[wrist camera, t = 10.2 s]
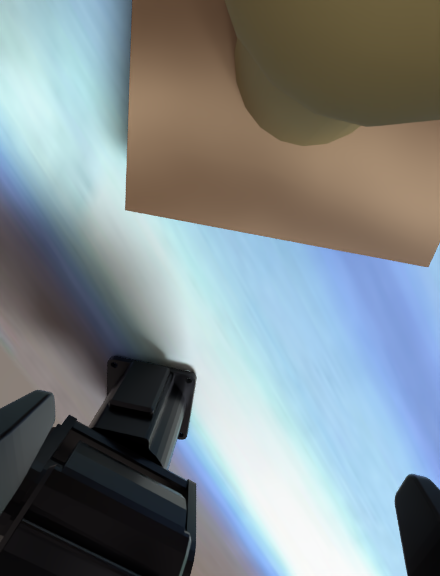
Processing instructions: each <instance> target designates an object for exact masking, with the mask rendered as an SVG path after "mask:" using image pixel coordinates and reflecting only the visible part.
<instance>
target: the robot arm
mask: <svg viewBox="0 0 440 576" xmlns="http://www.w3.org/2000/svg"><path fill="white" fill-rule="evenodd" d="M114 362H115V363H117V364H114ZM187 378H190V379H191V380H188V379H187ZM196 379H197V378H196V375H195V374H194V373H193V372H189V371H185V370H180V369H175V368H170V367H166V366H161V365H156V364H151V363H147V362H142V361H137V360H132V359H128V358H123V357H118V356H113V357H111V358H110V360H109V361H108V365H107V397H106V399H105V401H104V402H103V404H102V406H101V407H100V409H99V410H98V412H97V414H96V415H95V417H94V419H93V420H92V422H91V423H90V425H89V427H87V426H85V425H84V424H82V423H80V422H78V421H76V420H77V419H76V418H74V417H72V416H71V415H69V416H68V417H67V418H66V420H65V421H64V422H63V424H62V425H60V424H58V425H57V426H56V427H52V426H53V424H54V421H55V401H54V395H53V394H52V393H51V392H46V391H42V390H36V391H33V392H31V393H29V394H27V395H25V396H24V397H22V398H20V399H18V400H16V401H14V402H12V403H10V404H8V405H6V406H4V407H2V408H0V576H190V574H191V570H192V566H193V562H194V556H195V549H196V483H194V482H192V481H191V480H189V479H188V480H185V479H183V478H182V477H180V476H178V475H176V474H174V473H172V472H170V471H169V470H168V468H169V465H170V461H171V458H172V455H173V451H174V448H175V444H176V441H177V439H181V440H183V439H185V438H186V437H187V434H188V428H189V422H190V416H191V410H192V404H193V397H194V391H195V385H196ZM395 508H396V514H397V520H398V525H399V531H400V537H401V542H402V548H403V554H404V559H405V565H406V570H407V575H408V576H440V490H439V488H438V487H437V486H436V485H435V484H434V483H433V482H432V481H431V480H430V479H428V478H427V477H424V476H419V475H415V474H410V475H408V476H407V477H406V478H405V480H404V482H403V483H402V485H401V486H400V488H399V490H398V491H397V493H396V495H395Z"/></svg>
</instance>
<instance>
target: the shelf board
mask: <svg viewBox="0 0 440 576" xmlns="http://www.w3.org/2000/svg"><path fill="white" fill-rule="evenodd" d="M236 42H237V36H236V33H235V30H234V27H233V24H232V21H231V18H230V15H229V12H228V9H227V6H226V3H225V1H224V0H132V22H131V52H130V82H129V111H128V141H127V171H126V201H125V210H128V211H133V212H138V213H144V214H149V215H154V216H160V217H165V218H170V219H175V220H181V221H186V222H191V223H197V224H202V225H207V226H212V227H218V228H223V229H228V230H234V231H239V232H244V233H249V234H255V235H260V236H265V237H271V238H276V239H281V240H287V241H292V242H297V243H302V244H308V245H313V246H318V247H324V248H329V249H334V250H339V251H345V252H350V253H355V254H361V255H366V256H371V257H376V258H382V259H387V260H392V261H398V262H403V263H408V264H413V265H419V266H424V267H429V265H430V262H431V260H432V258H433V256H434V254H435V252H436V249H437V247H438V245H439V243H440V120H433V121H423V122H413V123H403V124H394V125H384V126H372V127H365V126H360V127H359V128H357V129H356V130H355V131H354V132H352V133H351V134H349V135H346V136H344V137H342V138H339V139H337V140H335V141H332V142H330V143H328V144H321V145H311V146H299V145H295V144H291V143H287V142H283V141H280V140H278V139H277V138H275V137H274V136H272V135H271V134H269V133H268V132H266V131H265V130H263V129H262V128H260V126H259V125H258V124H257V123H256V121H255V120H254V119H253V117H252V116H251V115H250V113H249V112H248V111H247V109H246V108H245V105H244V103H243V100H242V97H241V94H240V91H239V88H238V86H237V83H236V70H235V54H234V53H235V47H236Z"/></svg>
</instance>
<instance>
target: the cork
mask: <svg viewBox="0 0 440 576" xmlns="http://www.w3.org/2000/svg"><path fill="white" fill-rule="evenodd" d="M224 1H225V3H226V6H227V9H228V12H229V15H230V18H231V21H232V24H233V27H234V30H235V33H236V36H237V42H236V47H235V53H234V54H235V70H236V83H237V86H238V88H239V91H240V94H241V97H242V100H243V103H244V105H245V108H246V109H247V111H248V112H249V113H250V115H251V116H252V117H253V119H254V120H255V121H256V123H257V124H258V125H259V126H260V128H262V129H263V130H265V131H266V132H268V133H269V134H271V135H272V136H274V137H275V138H277V139H278V140H280V141H283V142H287V143H291V144H295V145H299V146H311V145H321V144H328V143H330V142H332V141H335V140H337V139H339V138H342V137H344V136H346V135H349V134H351V133H352V132H354V131H355V130H356V129H357V128H359V127H360V126H365V127H372V126H384V125H394V124H403V123H413V122H423V121H433V120H440V0H224Z"/></svg>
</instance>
